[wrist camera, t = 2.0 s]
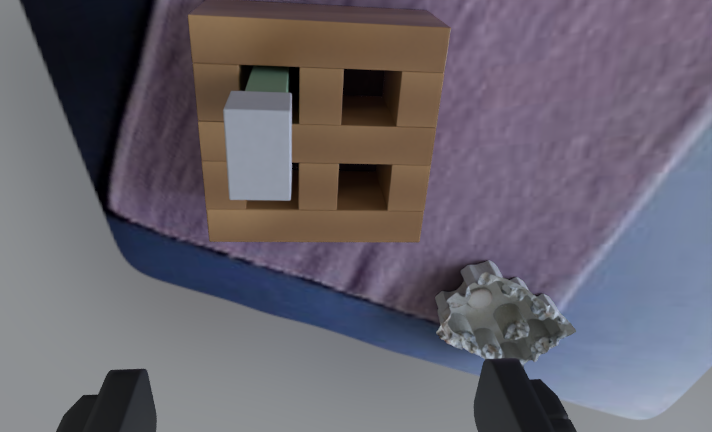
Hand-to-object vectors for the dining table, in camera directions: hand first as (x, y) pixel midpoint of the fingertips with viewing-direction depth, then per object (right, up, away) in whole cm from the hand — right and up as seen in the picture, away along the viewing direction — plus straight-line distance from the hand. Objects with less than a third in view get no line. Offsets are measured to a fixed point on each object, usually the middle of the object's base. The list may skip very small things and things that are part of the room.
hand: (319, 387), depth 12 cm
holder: (-2, +11, +23) cm, 25 cm away
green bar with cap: (-4, +14, +21) cm, 25 cm away
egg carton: (+13, -3, +33) cm, 36 cm away
